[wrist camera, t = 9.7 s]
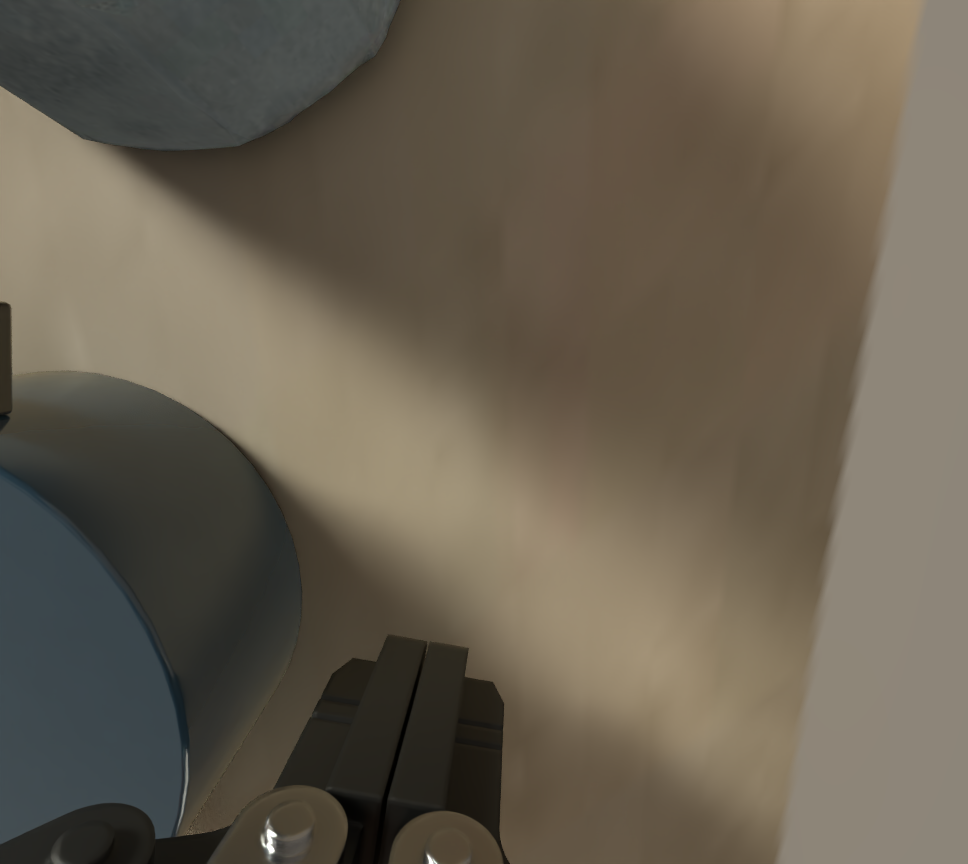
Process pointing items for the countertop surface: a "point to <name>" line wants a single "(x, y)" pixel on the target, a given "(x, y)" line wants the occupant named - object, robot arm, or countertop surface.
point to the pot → (129, 599)
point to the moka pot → (183, 64)
